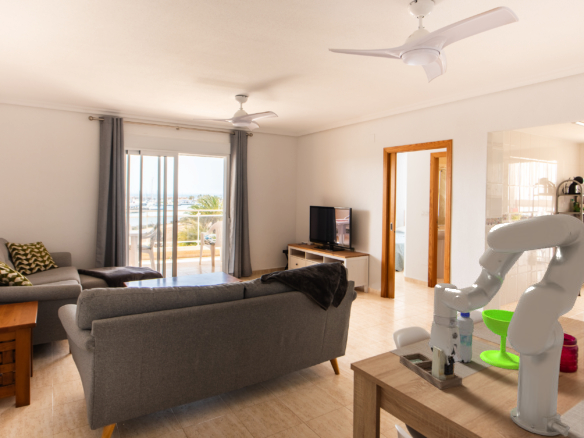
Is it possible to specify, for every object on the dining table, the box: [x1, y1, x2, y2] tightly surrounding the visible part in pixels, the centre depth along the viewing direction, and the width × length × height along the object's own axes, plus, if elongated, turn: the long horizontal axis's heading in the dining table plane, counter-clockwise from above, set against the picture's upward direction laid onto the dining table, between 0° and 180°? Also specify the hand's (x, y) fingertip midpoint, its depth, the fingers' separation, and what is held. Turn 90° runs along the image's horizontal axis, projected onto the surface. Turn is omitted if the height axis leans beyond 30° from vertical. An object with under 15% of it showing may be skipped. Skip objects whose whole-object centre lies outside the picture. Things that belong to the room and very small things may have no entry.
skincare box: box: [431, 346, 456, 381], centre depth 131 cm, size 6×4×12 cm
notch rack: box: [399, 351, 463, 390], centre depth 138 cm, size 22×9×2 cm, turn 20°
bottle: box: [457, 312, 475, 364], centre depth 148 cm, size 7×7×20 cm
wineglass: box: [479, 308, 520, 371], centre depth 149 cm, size 16×16×18 cm
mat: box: [409, 359, 422, 363], centre depth 145 cm, size 6×7×1 cm
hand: (443, 370), depth 131 cm, fingers closed on skincare box, 4 cm apart
